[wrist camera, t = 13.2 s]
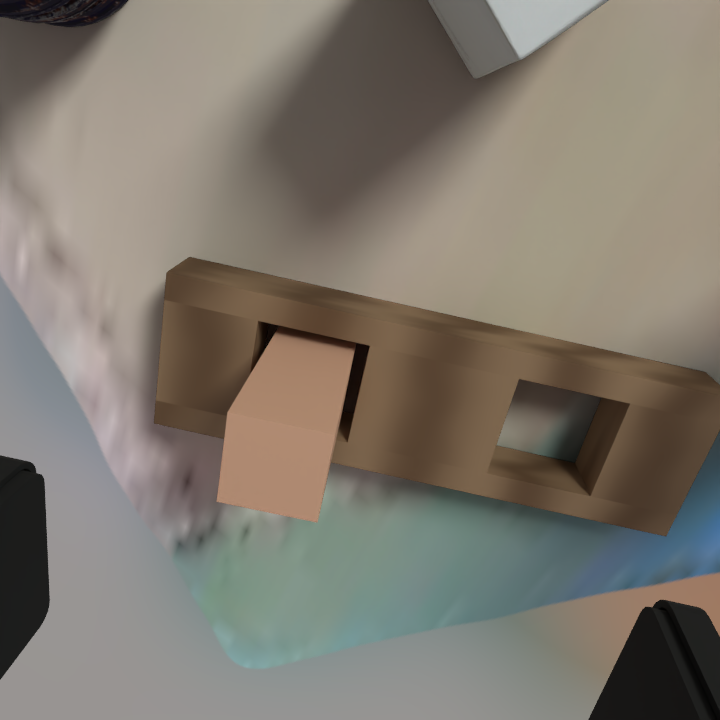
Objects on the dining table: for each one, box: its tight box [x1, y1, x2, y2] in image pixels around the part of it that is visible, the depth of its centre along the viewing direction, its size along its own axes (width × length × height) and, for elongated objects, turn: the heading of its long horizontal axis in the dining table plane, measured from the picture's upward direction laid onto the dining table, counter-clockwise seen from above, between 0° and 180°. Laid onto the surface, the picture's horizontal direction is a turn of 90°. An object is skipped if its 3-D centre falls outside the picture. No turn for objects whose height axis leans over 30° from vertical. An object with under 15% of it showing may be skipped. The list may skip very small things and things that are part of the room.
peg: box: [217, 326, 356, 522], centre depth 31 cm, size 4×4×12 cm
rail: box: [154, 257, 720, 536], centre depth 35 cm, size 30×9×4 cm, turn 78°
